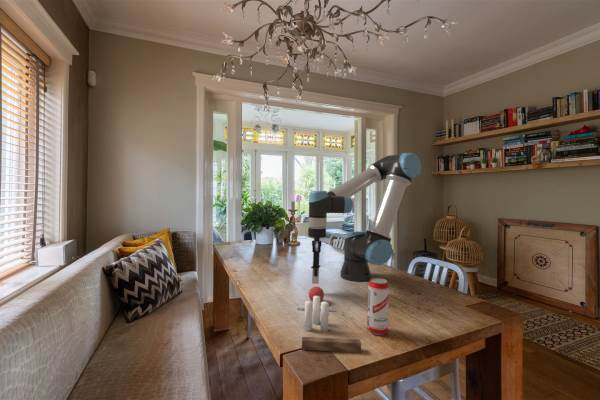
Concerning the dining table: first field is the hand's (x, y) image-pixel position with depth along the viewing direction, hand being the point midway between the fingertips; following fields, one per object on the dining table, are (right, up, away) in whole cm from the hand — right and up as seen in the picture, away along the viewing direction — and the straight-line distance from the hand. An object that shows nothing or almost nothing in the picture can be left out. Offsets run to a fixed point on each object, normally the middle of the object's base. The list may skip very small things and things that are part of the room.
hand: (315, 283), depth 119 cm
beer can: (+18, -6, -31) cm, 36 cm away
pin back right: (+1, -6, -31) cm, 31 cm away
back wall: (+2, -6, -41) cm, 42 cm away
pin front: (-1, -5, -26) cm, 27 cm away
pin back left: (-4, -6, -30) cm, 31 cm away
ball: (0, -2, -9) cm, 9 cm away
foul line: (-1, -5, -16) cm, 17 cm away
